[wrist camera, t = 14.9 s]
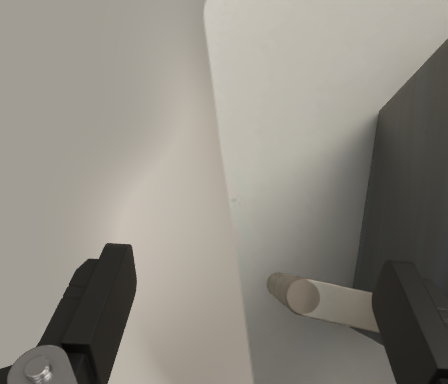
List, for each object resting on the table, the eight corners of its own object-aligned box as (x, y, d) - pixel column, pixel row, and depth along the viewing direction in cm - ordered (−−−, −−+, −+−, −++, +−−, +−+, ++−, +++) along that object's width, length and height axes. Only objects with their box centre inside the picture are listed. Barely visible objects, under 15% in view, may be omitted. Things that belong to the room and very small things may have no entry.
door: (258, 306, 29) (286, 358, 13) (298, 96, 32) (361, -70, 16) (360, 328, 29) (519, 411, 13) (391, 113, 32) (549, -41, 16)
